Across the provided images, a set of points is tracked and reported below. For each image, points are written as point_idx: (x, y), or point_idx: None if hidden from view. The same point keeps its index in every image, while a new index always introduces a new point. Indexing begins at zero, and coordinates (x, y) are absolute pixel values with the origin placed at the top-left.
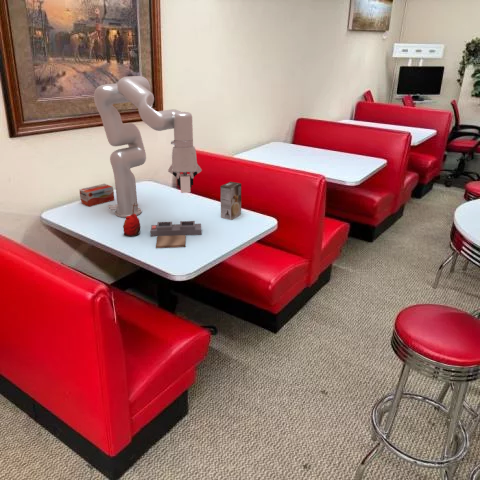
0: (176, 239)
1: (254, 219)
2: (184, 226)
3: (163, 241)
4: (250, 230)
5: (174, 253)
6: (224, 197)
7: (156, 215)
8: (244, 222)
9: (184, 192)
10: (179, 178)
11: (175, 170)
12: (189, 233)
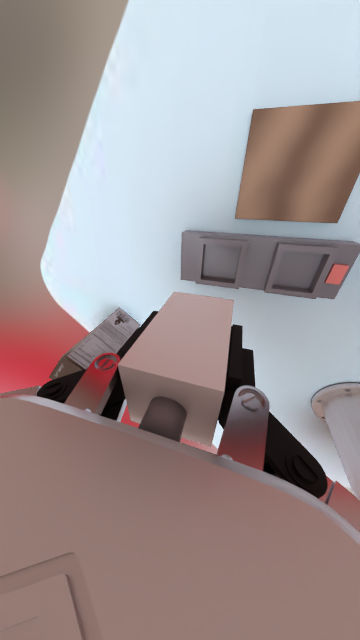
0: (274, 178)
1: (77, 299)
2: (232, 242)
3: (333, 159)
4: (73, 241)
5: (320, 16)
6: (103, 349)
7: (280, 373)
8: (92, 289)
9: (210, 297)
10: (230, 390)
11: (330, 547)
12: (220, 233)
